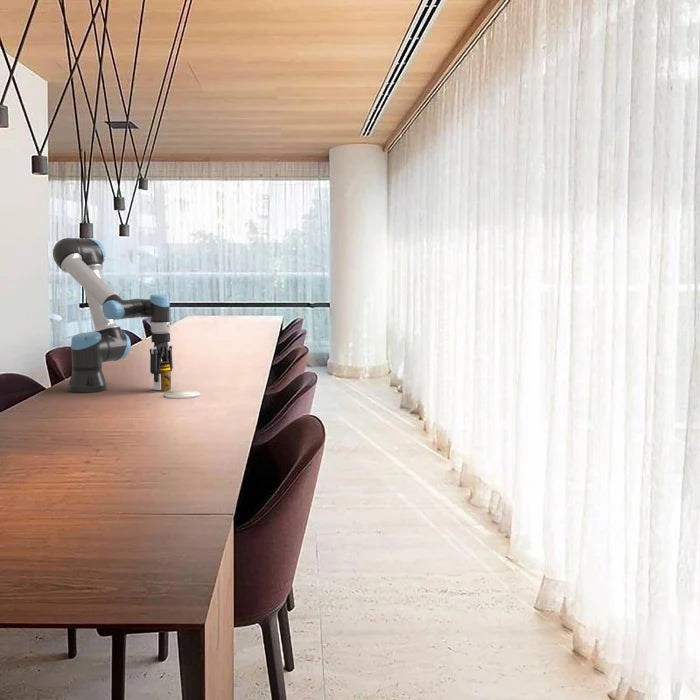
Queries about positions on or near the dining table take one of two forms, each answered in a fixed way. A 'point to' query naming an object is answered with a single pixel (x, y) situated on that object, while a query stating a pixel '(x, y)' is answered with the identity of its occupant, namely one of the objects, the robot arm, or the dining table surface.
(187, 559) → the dining table surface
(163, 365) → the condiment
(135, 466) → the dining table surface
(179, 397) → the plate
